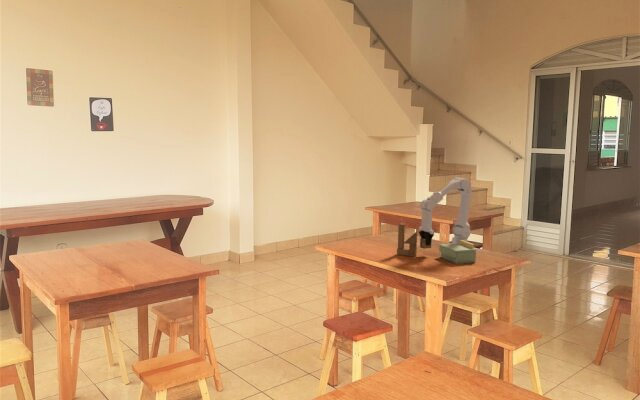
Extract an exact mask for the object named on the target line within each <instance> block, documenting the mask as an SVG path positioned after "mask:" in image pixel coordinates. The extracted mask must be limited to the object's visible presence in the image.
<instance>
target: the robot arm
mask: <svg viewBox="0 0 640 400" xmlns="http://www.w3.org/2000/svg"><path fill="white" fill-rule="evenodd" d="M471 186H472V182H471V180H469V178H463V177H459V176H458V177H453V179H451V180H450V182H448V184H446V186H444V187H443V188H442V189H441V190H440V191H434V192H433V193H432V195H430V196H427V198H426V199H423V200H422V201H421V202H420V204H419V207H420V209H421V224H420V225H421V226H418V233H419V236H420V239H421V238H425V241H426V246H427V245H430V243H431V244H432V241H431V240H433V237H434V235H435V231H434V229H433V228H432V225H433V224H432V223H433V210H434V209H435V206H437V205H438V204H439V203H440V202H441V201H443V199H444V196H446V195H448V194H449V193H451V192H452V191H453V190H458V191H459V193H460V195H461V196H460V203H459V209H458V217H457V220H456V221H455V222H454V225H453V227H452V231H451V232H452V234H453V235H454V236H453V237H452V238H451V244H457V243H460V240H464V241H466V242H468V239H469V237H470V236H471V225H470V224H469V222H468V221H469V215H470V208H471V201H472V194H473V193H472V192H473V191H472V187H471Z"/></svg>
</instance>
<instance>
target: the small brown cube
mask: <svg viewBox="0 0 640 400" xmlns="http://www.w3.org/2000/svg"><path fill="white" fill-rule="evenodd" d="M419 239H420V240H419V247H420V248H421V249H422V250H423V249H432V240H433V239H432V240H431V243H430V245H427V246H426V241H425V238H421V237H420V238H419Z"/></svg>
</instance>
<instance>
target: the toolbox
mask: <svg viewBox="0 0 640 400" xmlns="http://www.w3.org/2000/svg"><path fill="white" fill-rule="evenodd" d="M476 255H477V250H476V251H470V252H456V258H454V257H451V256H449V255H447V254H444V253H442V252H440V258H442V259H445V260H446V261H448V262H449V261H450V262H451V263H453V264H457V265H458V264H470V263H471V264H472V263H476Z"/></svg>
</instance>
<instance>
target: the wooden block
mask: <svg viewBox="0 0 640 400" xmlns="http://www.w3.org/2000/svg"><path fill="white" fill-rule="evenodd" d="M405 225H406V224H405V223H398V226H397V233H398V234H397V248H396V256H405V257H414V258H415V257H416V256H417V247H418V244H417V243H418V231H415V232H414V233H413V234H412V235H411V236H410V237H408V239H406V240H405V234H406V233H405V232H406V231H405V230H406V228H405ZM405 244H406V245H407V244H408V247H409V248H405Z"/></svg>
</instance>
